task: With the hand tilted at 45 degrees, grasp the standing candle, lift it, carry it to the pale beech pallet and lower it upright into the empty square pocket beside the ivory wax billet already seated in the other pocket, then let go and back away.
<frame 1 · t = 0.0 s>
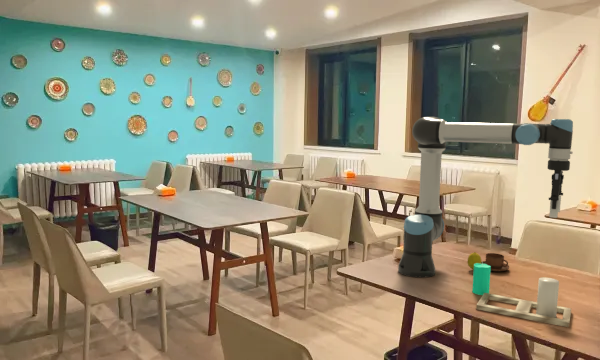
hand: (554, 214, 195), 28 cm above the table, tool pointing down, fingers open, 13 cm apart
cup and saucer: (493, 269, 218), on the table
pallet: (523, 310, 171), on the table
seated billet: (546, 315, 168), resting in pallet
lemon: (473, 270, 216), on the table
candle: (480, 293, 189), on the table
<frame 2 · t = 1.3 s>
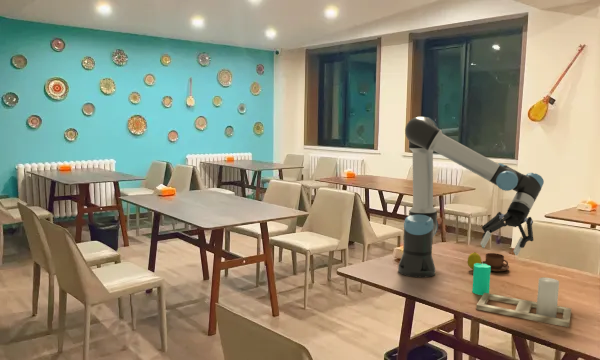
hand: (498, 249, 193), 15 cm above the table, tool tilted 45°, fingers open, 13 cm apart
nothing on the table moved.
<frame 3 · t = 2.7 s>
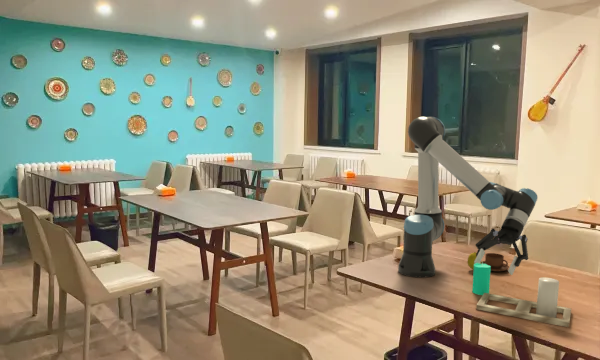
hand: (492, 268, 189), 9 cm above the table, tool tilted 45°, fingers open, 13 cm apart
nothing on the table moved.
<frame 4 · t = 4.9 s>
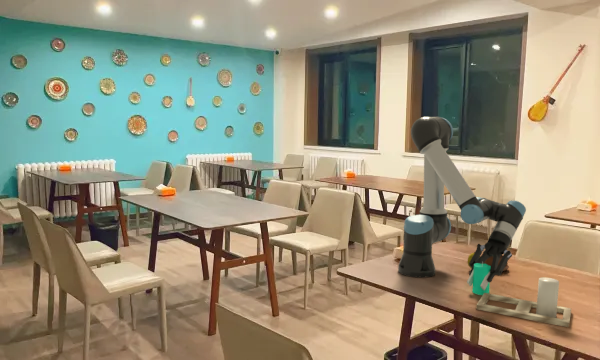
hand: (475, 285, 186), 3 cm above the table, tool tilted 45°, fingers closed on candle, 5 cm apart
candle: (480, 292, 189), on the table, touching gripper
everything else where it was.
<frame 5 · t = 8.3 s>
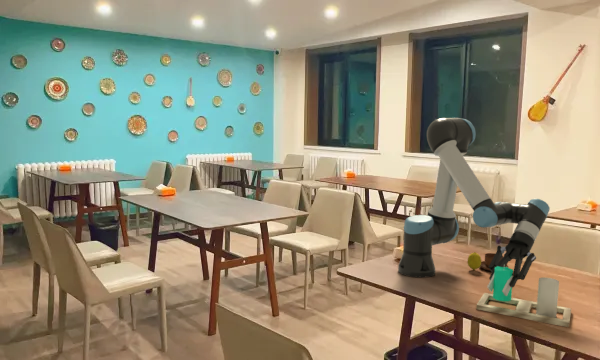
hand: (496, 291, 172), 6 cm above the table, tool tilted 45°, fingers closed on candle, 5 cm apart
candle: (502, 298, 174), point 3 cm above the table, touching gripper
everything else where it was.
when the fingers open (4 cm above the table, at t = 9.1 s): candle stays where it is, resting in pallet.
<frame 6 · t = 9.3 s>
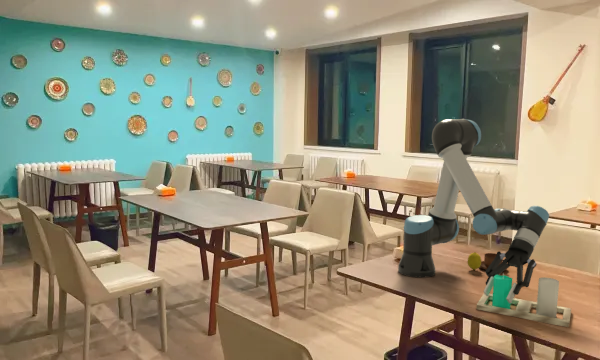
hand: (496, 297, 172), 4 cm above the table, tool tilted 45°, fingers open, 8 cm apart
candle: (501, 307, 175), resting in pallet
everything else where it was.
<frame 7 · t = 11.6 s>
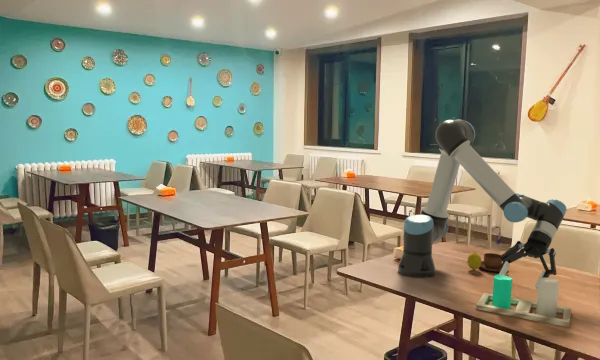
hand: (518, 282, 181), 6 cm above the table, tool tilted 45°, fingers open, 13 cm apart
nothing on the table moved.
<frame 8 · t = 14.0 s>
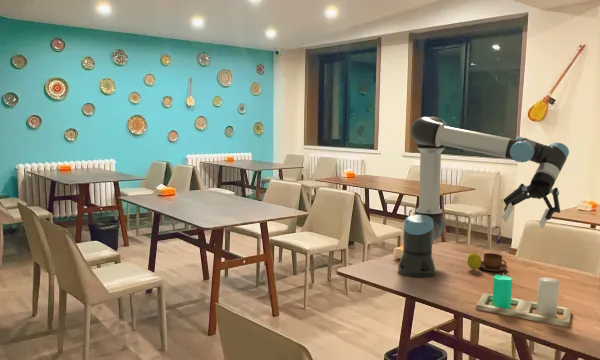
hand: (522, 222, 181), 28 cm above the table, tool tilted 45°, fingers open, 13 cm apart
nothing on the table moved.
at the end: candle inside the target area on the pallet (0.1 cm from its centre), point 0.0 cm above the pallet's base; candle tilted 0°; the gripper is holding nothing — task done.
